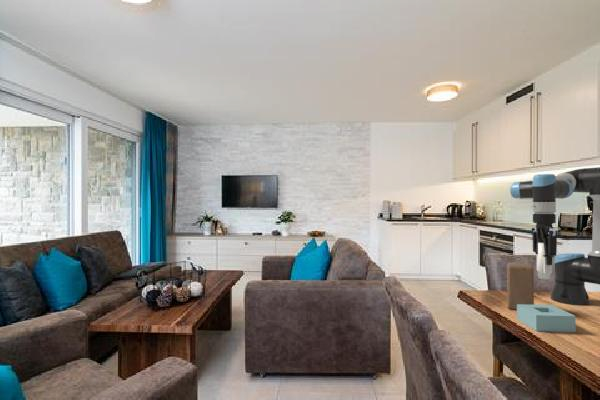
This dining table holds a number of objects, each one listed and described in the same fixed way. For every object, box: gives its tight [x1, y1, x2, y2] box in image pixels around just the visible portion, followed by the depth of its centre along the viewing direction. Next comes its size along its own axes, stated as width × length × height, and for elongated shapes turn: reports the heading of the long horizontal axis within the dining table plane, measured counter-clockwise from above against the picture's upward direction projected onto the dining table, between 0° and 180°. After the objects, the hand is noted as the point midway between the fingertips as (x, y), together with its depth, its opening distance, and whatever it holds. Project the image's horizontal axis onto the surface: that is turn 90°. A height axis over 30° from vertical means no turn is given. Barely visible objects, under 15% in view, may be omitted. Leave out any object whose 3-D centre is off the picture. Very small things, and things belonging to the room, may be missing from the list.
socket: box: [516, 304, 577, 333], centre depth 140 cm, size 14×14×6 cm
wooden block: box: [506, 262, 535, 311], centre depth 161 cm, size 10×10×20 cm
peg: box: [537, 243, 551, 280], centre depth 140 cm, size 4×4×14 cm
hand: (544, 271), depth 140 cm, fingers closed on peg, 4 cm apart
